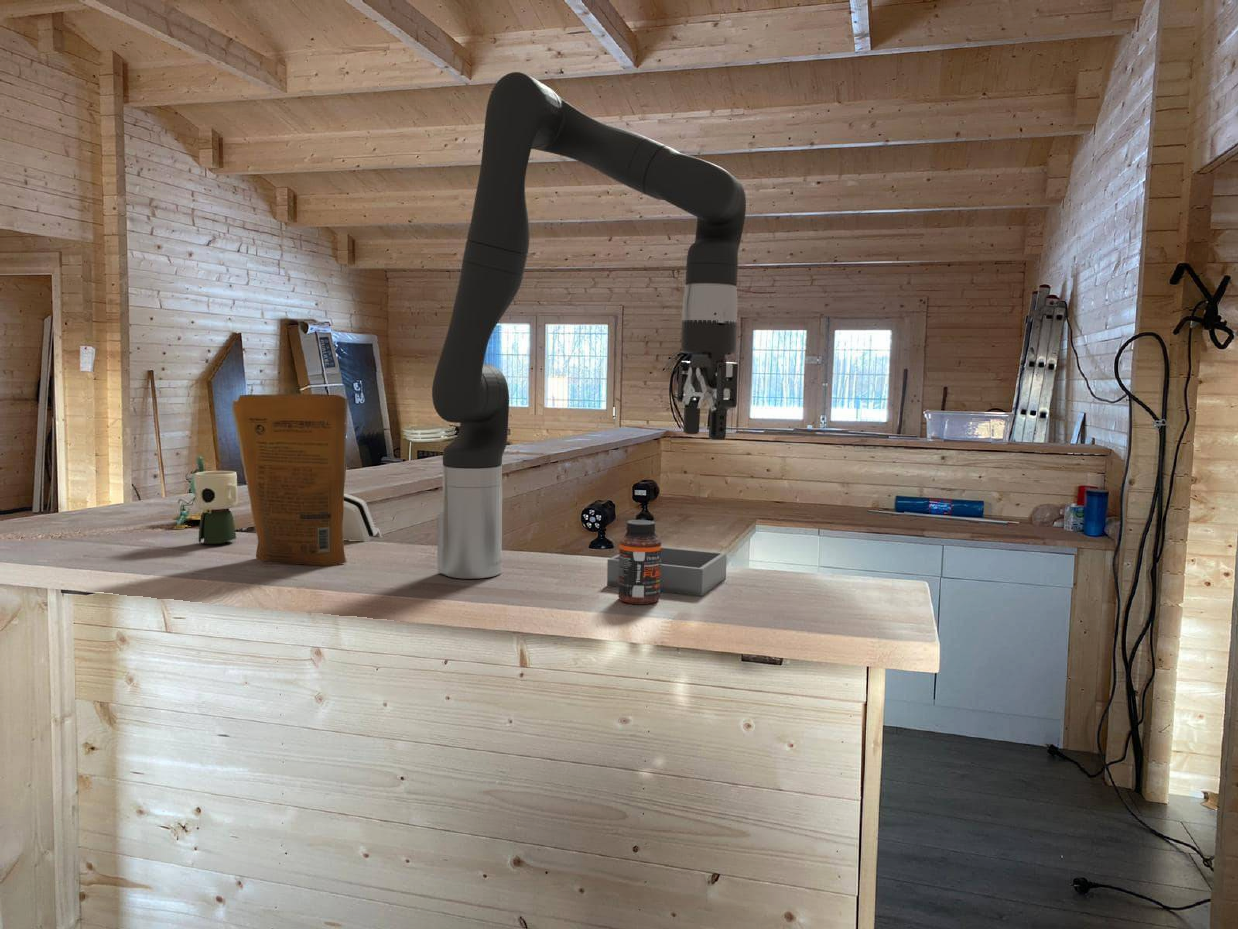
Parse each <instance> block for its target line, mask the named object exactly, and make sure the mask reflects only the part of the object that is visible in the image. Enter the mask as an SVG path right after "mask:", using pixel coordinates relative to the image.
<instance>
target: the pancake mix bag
mask: <svg viewBox="0 0 1238 929" xmlns="http://www.w3.org/2000/svg"><path fill="white" fill-rule="evenodd" d="M348 403H349V399H348V398H346V397H344V396H341V395H339V394H326V393H325V394H324V393H289V394H288V393H286V394H240V395H239V396H238V398H237V400H232V404H231V405H232V408H231V410H232V411H231V412H232V419H233V422H234V424H235V430H236V435H237V440H238V447H239V448H238V449H239V453H240V461H241V463H242V466H243V473H244V478H245V482H246V483H245V484H246V487H247V493H248V497H249V503H250V510H251V514H252V515H251V516H252V519H253V520H252V521H253V525H254V528H255V533H256V537H257V538H256V539H257V544H256V545H257V546H256V550H255V551H256V553H255V558H256V559H257V560H258V561H259V562H260V563H266V564H288V565H290V564H291V565H305V566H306V565H308V566H318V567H319V566H321V567H322V566H323V567H324V566H335V565H340V564H346V563H347V562H348V561H347V558H346V555H345V548H344V546H345V545H344V539H343V532H342V522H343V515H344V493H345V486H346V485H345V484H346V472H347V469H346V468H347V466H346V465H347V463H346V462H347V432H348Z"/></svg>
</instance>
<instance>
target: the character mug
mask: <svg viewBox="0 0 1238 929" xmlns="http://www.w3.org/2000/svg"><path fill="white" fill-rule="evenodd" d="M204 471H205V472H198V473H195V474H194V473H193V477H194V488H195V495H194V497H195V500H194V506H195V507H196V509H200V510H202V512H201V513H202V515H201V519H200V521H199V527H198V543H202V540H203V543H204V544H207V545H208V544H210V545H211V544H220V545H224V544H225V543H226V542H229V541H233V540H236V539H237V534H236V527H235V522H234V517H233V516H234V515H233V513H232V511H231V510H230V509H232V508H235V507H237V505H238V476H237V471H233V470H217V471H215V470H210V471H209V470H204Z"/></svg>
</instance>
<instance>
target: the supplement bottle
mask: <svg viewBox="0 0 1238 929" xmlns="http://www.w3.org/2000/svg"><path fill="white" fill-rule="evenodd" d="M655 531H656V523H655V521H652V520H647V519H631V520H627V521H626V533H625V535H622V536H621V538H620V539H619V549H618V550H619V551H618V552H619V553H618V554H619V587H618V588H617V590H618V591H617V592H618V599H619V600H620V601H622V602H624V603H628V604H634V605H650V604H653V603H654V604H655V603H656V602H658V600H659V599H660V594H661V592H660V570H661V547H662V541H661V538H659V537H658V536H657V534H656V533H655Z"/></svg>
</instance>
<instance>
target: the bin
mask: <svg viewBox="0 0 1238 929" xmlns="http://www.w3.org/2000/svg"><path fill="white" fill-rule="evenodd" d="M727 556H728V555H727V553H726V552H720V551H719V552H717V551H708V550H707V551H706V550H697V549H689V548H676V547H664V546H661V570H660V593H661V592H662V593H670V594H677V595H678V594H679V595H687V596H694V597H695V596H698V597H703V596H704V595H706V594H707V593H708V592H710V591H711V590H713V589H714V588H715V587H716V586H718V585H719V584H721V583H722V582H723V581H724V580H725V579H727V560H728V559H727V558H728V557H727ZM606 566H607V570H606V571H607V572H606V573H607V575H606V583H607V584H606V585H607V586H608V587H609V586H610V587H619V553H618V554H616V555H614V556H611V557H610V558H608V559H607V565H606Z"/></svg>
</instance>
